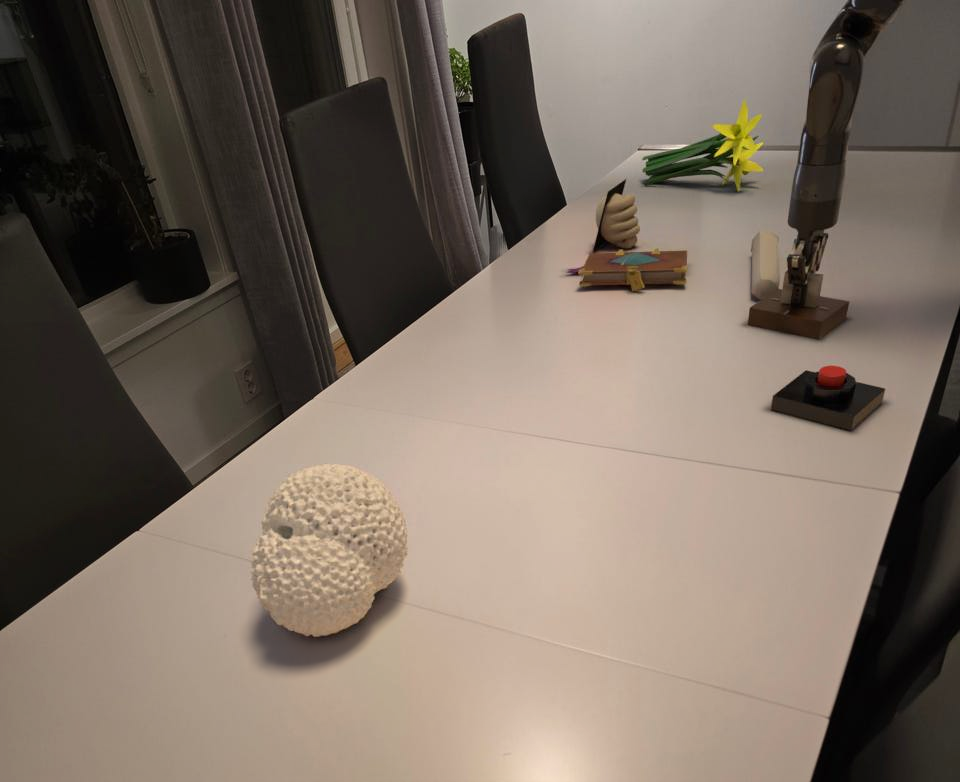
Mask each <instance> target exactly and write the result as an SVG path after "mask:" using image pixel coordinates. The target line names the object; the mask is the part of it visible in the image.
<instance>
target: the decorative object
mask: <svg viewBox="0 0 960 782" xmlns="http://www.w3.org/2000/svg"><path fill="white" fill-rule="evenodd" d="M626 182H627V178H625V179H623V180H622V181H621V182H620V183H618V184H617V185H615V186H614V187H612V188H611V189H609V190H608V191H607V193H606V195H605V196H603V197H602V198H601V200H600V201H599V202H598V204H597V207H596V212H595V223H596V228H597V233H596V237H595V241H594V245H593V249H592V253H595V252H596V251H597V250H599V249H600V248H601V247H602V246H604V245H605V244H606V243H607V242H609V243H611V244H612V245H614V246H617V247H618V248H622V249H631V248H633V247H634V246H635V245H637V243H638V236H637V235H638V234H639V233H640V232H641V226H640V225H639V218H638V217H637V216H635V215H636V213H637V212H638V206H637V205H636V204H635V202H636V197H635V195H634V194H632V193H628V194H626V195H623V193H624V191H625V187H626Z"/></svg>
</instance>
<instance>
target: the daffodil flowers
mask: <svg viewBox="0 0 960 782" xmlns="http://www.w3.org/2000/svg"><path fill="white" fill-rule="evenodd" d="M737 116H738V117H737V120H736V122H735V123H733V124H723V123H721V124H720V123H719V124H718V123H716V124H712V125H711V127H712V128H713V129H714V130H715V131H717V132H718V134H717V135H714V136H711V137H708V138H706V139H703V140H700V141H698V142H695V143H692V144H689V145H687V146H686V145H685V146H683V147H679V148H675V149H670V150H665V151H661V152H657V153H653V154H650V155H646V156H643V157H642V161H645V167H644V168H642V170H641V171H642V173H643V174H644V173H645V176H647V177H649V178H647V179H644V181H643V185H644V186H645V187H647V186H649V185H653V184H657V183H660V182H664V181H666V180H669V179H674V178H675V179H676V178H681V177H683V178H684V177H693V176H717V177H719V178H721V179H723V182H722V185H724V184H726V182H727V181H728V180H729V179H730V178H731V177H732V176H733V179H734V183H735V186H736V190H737V193H738V192H740V190H741V181H742V175H743V176H747V175H749V174H750V172H763V171H764V169H763V168H762V167H761V166H760V165H759V164H758V163H756V162H755V161H751V160H749V159H750V158H751V157H752V156H753V155H754V154H755V153H756V152H757V151H758V150H759V149H760V148H761V146H762V145H763V144H764V142H759V143H755V140H756V139H757V138H759V135H757V136H754V137H753V138H752V136H751V134H750V133H751V132H752V130H754V129H755V128H756V127H757V125H758V124H759V123H760V121H761V118H762V117H763V113H760V114H757V115H755V116H753V117H752V118H751V119H749V109H748V104H747V100H746V98H744V99H743V101H742V104H741V107H740V110H739V113H738V115H737ZM748 119H749V120H748ZM699 156H702V157H699ZM695 157H696V158H695ZM686 159H687V160H686ZM646 160H647V161H646ZM724 164H728V165H729V166H730V167H731V168H730V169H729V171H728V172H727V175H724V174H723V173H721V172H719V171H717V170H714V169H709V168H711V167H718V168H725V169H726V168H728V166H727V165H724Z"/></svg>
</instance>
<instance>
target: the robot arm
mask: <svg viewBox="0 0 960 782" xmlns="http://www.w3.org/2000/svg"><path fill="white" fill-rule="evenodd" d="M906 2H907V0H847V1H846V2H845V3H844V5H843V6H842V8H841V9H840V11H839V12H838V13H837V15H836V17H835V18H834V19H833V21H832V22H831V23H830V25H829V26H828V29H827V30H826V31H825V33H824V34H823V36H822V38H821V39H820V41H819V43H818V45H817V46H816V48H815V49H814V51H813V54H812V56H811V58H810V62H809V83H808V84H809V86H808V95H807V96H808V97H807V105H806V114H805V121H804V123H803V126H802V129H801V130H802V131H801V134H800V139H799V147H798V155H797V161H796V167H795V170H794V174H793V180H792V186H791V192H790V193H791V194H790V201H789V208H788V214H787V215H788V216H787V225H788V226H789V228H791V229H794V230H796V231H797V235H796V238H794V239H793V242H792V254H791V253H789V254H788V255H787V256H786V257H787V258H786V266H787V267H786V268H787V270H788V283H789V284H793V289H792V296H791V303H790V305H791V307H796V308H802V307H803V306H804V305H805V299H806V293H807V286H808V283H809V276H810V273H817V272H819V270H820V267H821V263H822V259H823V255H824V254H825V253H824V252H825V249H826V246H827V242H828V239H829V233H828V232H825V230H828V229H831V228H833V227H835V226H836V225H837V223H838V220H839V214H840V210H841V202H842V198H843V197H842V196H843V190H844V185H845V180H846V168H847V167H846V166H847V158H848V157H847V156H848V152H849V146H850V141H851V131H852V123H853V122H852V121H853V117H854V114H855V110H856V106H857V101H858V99H859V94H860V89H861V86H862V80H863V74H864V69H865V59H866V57H867V56H868V55H869V52H870V51H871V49H872V48H873V46H874V44H875V43H876V41H877V40H878V38H879V36H880V35H881V33H882V32H883V31H884V30H885V29H884V28H886V27H887V26H889V24H890V23H892V22H893V21H894V19H895V18H896V17H897V15H898V13H899V12H900V11H901V9H902V8H903V6H904V4H905V3H906ZM797 276H800V277H797Z"/></svg>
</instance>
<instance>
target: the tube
mask: <svg viewBox="0 0 960 782" xmlns="http://www.w3.org/2000/svg"><path fill="white" fill-rule="evenodd" d="M779 240H780V237H779V236H778V235H777V234H776V233H775V232H774V231H772V230H759V231H758V232H757V233H756V234H755V236H754V237H753V238H752V239H751V245H750V252H751V294H752V295H753V296H754V297H755V298H757V299H758V300H759V301H761V300H762V299H764V298H765V297H767V296H768V295H770V294H771V293H773V292H774V291H776V290H777V289H780V283H781V282H780V281H781V276H780V257H779Z"/></svg>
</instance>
